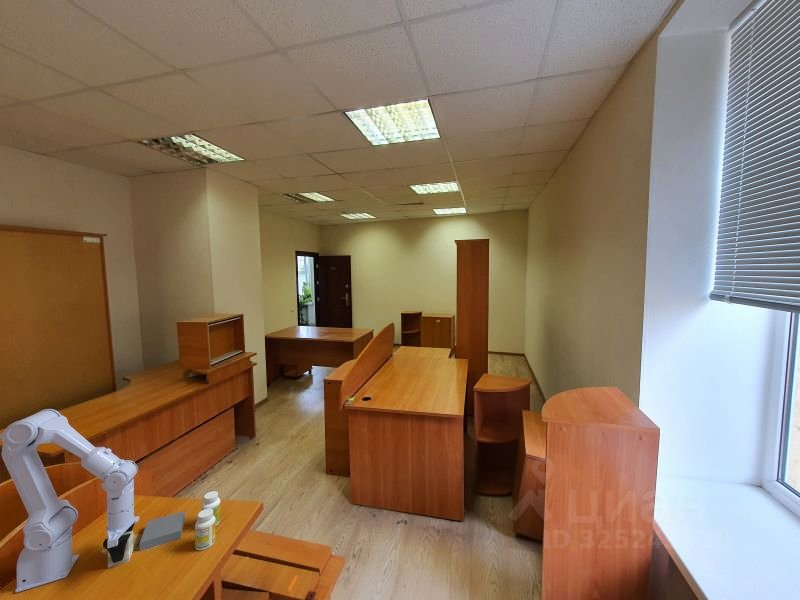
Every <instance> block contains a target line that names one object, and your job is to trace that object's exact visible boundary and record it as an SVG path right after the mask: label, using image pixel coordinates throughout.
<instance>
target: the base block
mask: <svg viewBox="0 0 800 600" xmlns="http://www.w3.org/2000/svg"><path fill="white" fill-rule="evenodd" d="M185 519H186V511H185V510H184V511H180V512H177V513H172V514H169V515H164V516H162V517H158V518H154V519H153V518H152V519H150V520H148V521H147V523H146V525H145V528H144V530H143V533H142V535H141V538H140V542H139V552H142V551H145V550H149V549H152V548H155V547H159V546H161V545H165V544H168V543H171V542H174V541H177V540H180V539H182V534H183V529H184V526H185V525H184V524H185V521H184V520H185ZM141 550H142V551H141Z"/></svg>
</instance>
